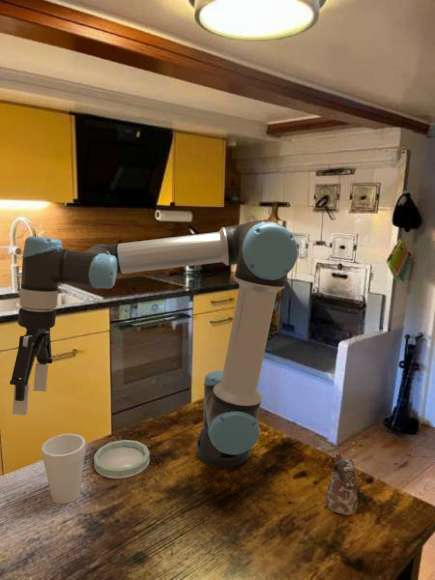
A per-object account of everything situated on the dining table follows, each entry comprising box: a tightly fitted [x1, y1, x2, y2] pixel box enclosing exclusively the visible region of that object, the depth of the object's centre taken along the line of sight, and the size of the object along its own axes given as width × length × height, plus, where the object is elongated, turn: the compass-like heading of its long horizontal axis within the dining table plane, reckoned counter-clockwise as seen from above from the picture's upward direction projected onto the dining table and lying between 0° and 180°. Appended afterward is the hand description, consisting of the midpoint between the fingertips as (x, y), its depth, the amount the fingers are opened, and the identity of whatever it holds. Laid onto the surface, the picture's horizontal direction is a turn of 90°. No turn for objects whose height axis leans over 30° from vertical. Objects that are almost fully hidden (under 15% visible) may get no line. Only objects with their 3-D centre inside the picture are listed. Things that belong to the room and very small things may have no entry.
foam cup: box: [41, 433, 87, 505], centre depth 100 cm, size 10×9×13 cm
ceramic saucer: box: [93, 439, 151, 480], centre depth 114 cm, size 14×14×2 cm
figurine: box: [325, 452, 359, 516], centre depth 100 cm, size 7×7×12 cm
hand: (30, 401), depth 96 cm, fingers open, 13 cm apart
